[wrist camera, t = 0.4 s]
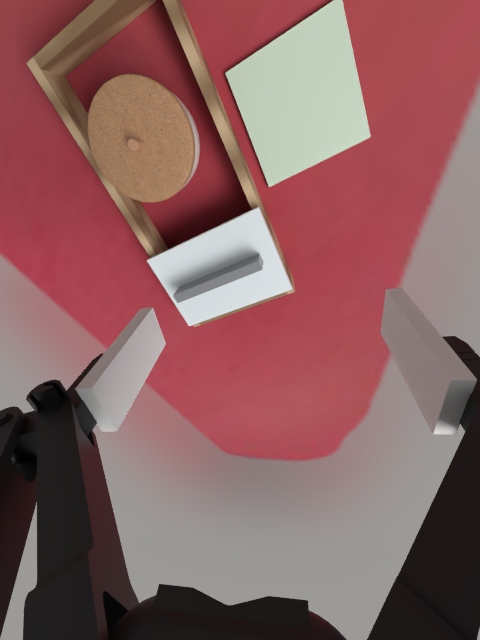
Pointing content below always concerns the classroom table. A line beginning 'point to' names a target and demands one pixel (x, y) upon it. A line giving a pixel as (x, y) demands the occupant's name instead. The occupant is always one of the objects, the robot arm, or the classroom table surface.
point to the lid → (222, 269)
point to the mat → (302, 95)
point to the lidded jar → (142, 138)
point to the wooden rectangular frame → (50, 71)
